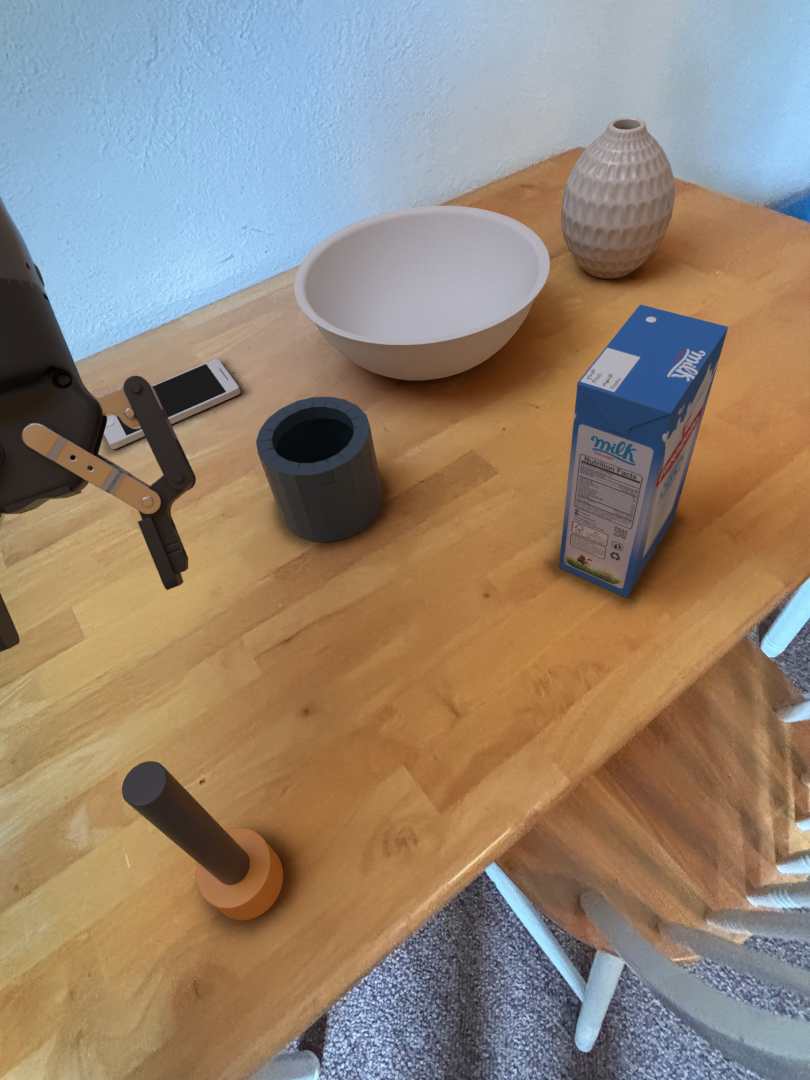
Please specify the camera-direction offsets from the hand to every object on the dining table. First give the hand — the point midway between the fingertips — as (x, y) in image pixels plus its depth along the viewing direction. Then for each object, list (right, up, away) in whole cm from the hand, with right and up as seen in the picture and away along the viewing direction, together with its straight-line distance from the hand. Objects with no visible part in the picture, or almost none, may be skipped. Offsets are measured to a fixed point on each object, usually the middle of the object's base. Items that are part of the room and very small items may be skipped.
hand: (93, 616), depth 36 cm
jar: (+9, +8, +33) cm, 35 cm away
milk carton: (+34, +3, +26) cm, 44 cm away
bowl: (+18, +27, +48) cm, 57 cm away
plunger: (+5, -19, +12) cm, 23 cm away
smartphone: (-11, +19, +45) cm, 51 cm away
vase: (+42, +39, +54) cm, 79 cm away
